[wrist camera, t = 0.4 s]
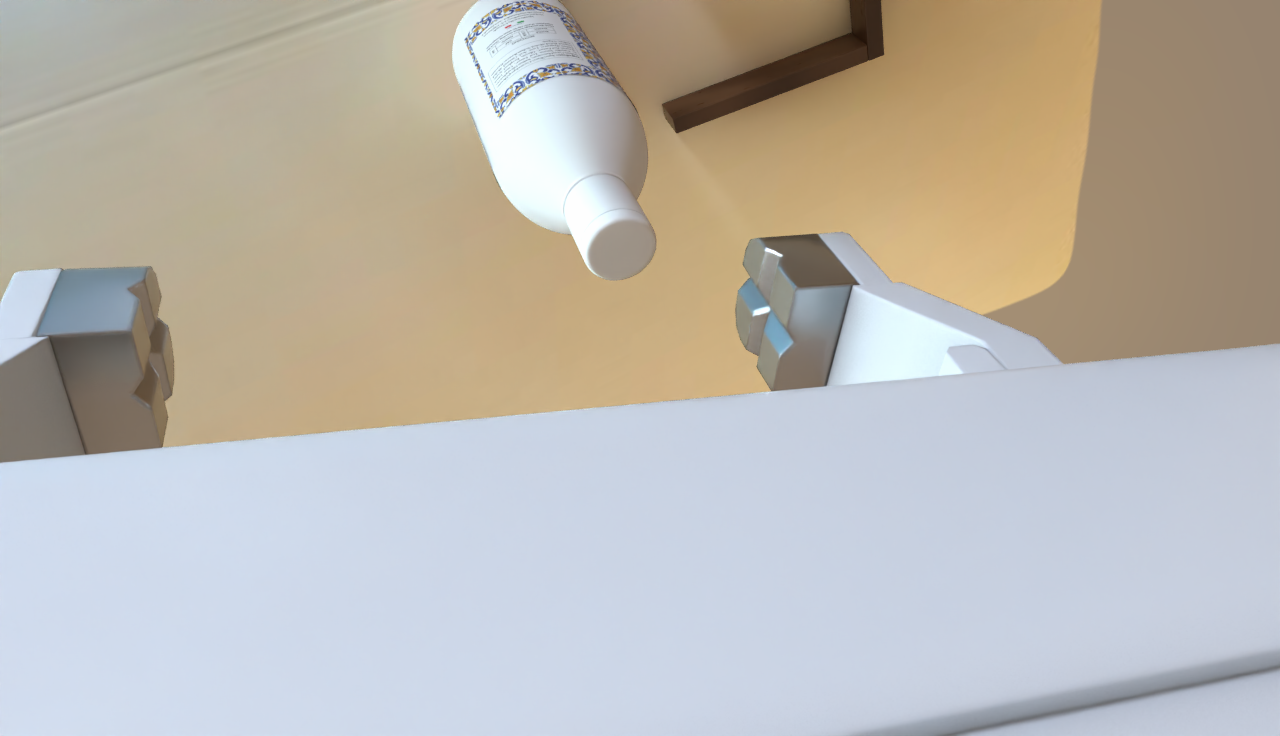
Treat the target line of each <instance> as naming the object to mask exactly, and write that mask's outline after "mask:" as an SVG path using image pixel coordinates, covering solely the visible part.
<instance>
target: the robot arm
mask: <svg viewBox="0 0 1280 736" xmlns="http://www.w3.org/2000/svg"><path fill="white" fill-rule="evenodd" d="M743 266H744V268H745V269H746V271H747V273H748V274H749V276H750V278H749V279H748V280H747V281H746V282H745V283H744V284H743V286H742V287H741V288H740V289H739V290H738V295H737V302H736V309H735V313H736V326H737V330H738V334H739V337H740V340H741V342H742V343H743V345H744V347H745V349H746V350H748V351H750V352H752V353H753V354H755V355H757V356H759V357H758V362H757V369H758V370H759V372H760V373H761V375H762V377H763V378H764V380H765V382H766V383H767V385H768V386H769V388H770V390H771V392H760V393H749V394H738V395H728V396H717V397H706V398H695V399H685V400H674V401H663V402H652V403H642V404H631V405H620V406H609V407H598V408H588V409H577V410H566V411H555V412H544V413H533V414H522V415H511V416H501V417H490V418H479V419H468V420H457V421H446V422H435V423H424V424H414V425H403V426H392V427H381V428H370V429H359V430H348V431H337V432H327V433H316V434H305V435H294V436H283V437H272V438H261V439H250V440H240V441H229V442H218V443H207V444H196V445H185V446H175V447H164V448H162V447H163V442H164V436H165V431H166V426H167V420H168V414H167V410H166V406H165V400H167V399H168V398H169V397H170V396H172V392H173V386H174V356H173V348H172V341H171V337H170V332H169V327H168V325H166V324H165V323H164V322H163V321H162V320H160V319H159V318H158V312H159V307H160V302H161V297H162V296H161V292H160V288H159V284H158V281H157V277H156V274H155V272H154V270H153V268H152V267H151V266H145V267H112V268H79V269H65V270H63V269H62V268H58V269H43V270H29V271H20V272H16V273H15V274H14V275H13V277H12V279H11V281H10V283H9V285H8V287H7V290H6V292H5V294H4V296H3V298H2V300H1V303H0V736H1280V344H1271V345H1263V346H1253V347H1243V348H1235V349H1224V350H1214V351H1203V352H1192V353H1181V354H1170V355H1159V356H1148V357H1137V358H1126V359H1115V360H1104V361H1094V362H1083V363H1072V364H1063V363H1062V362H1061V361H1060V360H1059V359H1058V358H1057V357H1056V356H1055V355H1054V354H1053V353H1052V352H1051V351H1050V350H1049V349H1047V347H1046V346H1045V345H1044V344H1042V343H1041V342H1040V341H1039V340H1038V339H1037V338H1036V337H1033V336H1031V335H1028V334H1026V333H1024V332H1021V331H1019V330H1016V329H1013V328H1011V327H1009V326H1007V325H1004V324H1002V323H999V322H997V321H994V320H992V319H990V318H987V317H985V316H982V315H980V314H977V313H975V312H973V311H970V310H968V309H965V308H963V307H961V306H958V305H956V304H953V303H951V302H948V301H946V300H944V299H941V298H939V297H936V296H934V295H931V294H929V293H927V292H924V291H922V290H919V289H917V288H914V287H912V286H910V285H907V284H905V283H902V282H901V283H893V282H892V281H891V280H890V279H889V278H888V277H887V276H886V274H885V273H884V272H883V271H882V270H881V269H880V268H879V267H878V266H877V264H876V263H875V262H874V261H873V260H872V259H871V258H870V257H869V256H868V254H867V253H866V252H865V251H864V250H863V249H862V248H861V247H860V245H859V244H858V243H857V242H856V241H855V240H854V239H853V238H852V237H851V235H850V234H847V233H844V232H834V233H823V234H806V235H793V236H779V237H765V238H756V239H751V240H750V241H749V243H748V246H747V248H746V250H745V256H744V261H743Z"/></svg>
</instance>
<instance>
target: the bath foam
mask: <svg viewBox="0 0 1280 736" xmlns="http://www.w3.org/2000/svg"><path fill="white" fill-rule="evenodd" d="M452 59H453V66H454V71H455V74H456V77H457V80H458V83H459V85H460V88H461V91H462V94H463V96H464V99H465V102H466V104H467V107H468V109H469V112H470V114H471V117H472V119H473V122H474V125H475V127H476V130H477V132H478V135H479V137H480V140H481V143H482V145H483V148H484V150H485V153H486V155H487V158H488V160H489V163H490V166H491V168H492V171H493V173H494V176H495V178H496V181H497V183H498V185H499V186H500V188H501V189H502V191H503V192H504V194H505V195H506V197H507V198H508V199H509V201H510V202H511V203H512V204H513V205H514V206H515V207H516V208H517V210H518V211H520V212H521V213H522V214H523V215H524V216H525V217H527V218H528V219H529V220H531V221H532V222H534V223H536V224H537V225H539V226H541V227H543V228H545V229H548V230H551V231H554V232H557V233H562V234H568V235H572V236H573V238H574V240H575V242H576V244H577V246H578V249H579V251H580V253H581V255H582V257H583V259H584V261H585V263H586V265H587V267H588V268H589V269H590V270H591V271H592V272H593V273H594V274H595V275H597V276H598V277H600V278H603V279H606V280H623V279H627V278H630V277H632V276H634V275H636V274H638V273H639V272H641V271H642V270H643V269H644V268H645V267H646V266H647V265H648V264H649V263H650V261H651V260H652V258H653V256H654V253H655V250H656V235H655V232H654V230H653V227H652V226H651V224H650V222H649V220H648V219H647V217H646V215H645V214H644V212H643V210H642V209H641V207H640V205H639V204H638V202H637V199H638V197H639V195H640V193H641V190H642V188H643V185H644V182H645V178H646V174H647V167H648V148H647V140H646V136H645V132H644V128H643V125H642V122H641V120H640V117H639V115H638V112H637V110H636V108H635V106H634V105H633V103H632V102H631V100H630V99H629V97H628V96H627V95H626V93H625V92H624V90H623V89H622V87H621V86H620V84H619V83H618V81H617V80H616V78H615V77H614V75H613V74H612V73H611V71H610V70H609V68H608V67H607V65H606V64H605V62H604V61H603V59H602V58H601V56H600V55H599V54H598V52H597V51H596V49H595V48H594V46H593V45H592V43H591V42H590V40H589V39H588V37H587V36H586V35H585V33H584V32H583V30H582V29H581V27H580V26H579V25H578V23H577V22H576V21H575V19H574V18H573V16H572V15H571V13H570V12H569V11H568V10H567V9H566V8H565V7H564V5H562V4H561V3H560V2H559V1H558V0H479V1H478V2H477V3H475V4H474V5H473V6H472V7H471V8H470V9H469V10H468V12H467V13H466V14H465V15H464V17H463V18H462V20H461V22H460V24H459V26H458V28H457V30H456V33H455V37H454V41H453V48H452Z"/></svg>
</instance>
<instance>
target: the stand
mask: <svg viewBox="0 0 1280 736" xmlns="http://www.w3.org/2000/svg"><path fill="white" fill-rule="evenodd" d="M849 2H850V13H851V25H852V33H850V34H847V35H845V36H842V37H839V38H837V39H834V40H831V41H829V42H826V43H823V44H821V45H818V46H815V47H813V48H810V49H807V50H805V51H802V52H800V53H797V54H794V55H792V56H789V57H786V58H784V59H781V60H778V61H776V62H773V63H770V64H768V65H765V66H762V67H760V68H757V69H754V70H752V71H749V72H746V73H744V74H741V75H738V76H736V77H733V78H730V79H728V80H725V81H722V82H720V83H717V84H715V85H712V86H709V87H707V88H704V89H701V90H699V91H696V92H693V93H691V94H688V95H685V96H683V97H680V98H677V99H675V100H672V101H669V102H667V103H664V104H662V106H663V110H664V114H665V118H666V120H667V121H668V123H669V124H670V125H671V127H672V128H673V129H674V131H675V132H676V133H679V132H682V131H684V130H687V129H690V128H692V127H695V126H698V125H700V124H703V123H706V122H708V121H711V120H713V119H716V118H719V117H721V116H724V115H727V114H729V113H732V112H735V111H737V110H740V109H742V108H745V107H748V106H750V105H753V104H756V103H758V102H761V101H764V100H766V99H769V98H772V97H774V96H777V95H779V94H782V93H785V92H787V91H790V90H793V89H795V88H798V87H801V86H803V85H806V84H808V83H811V82H814V81H816V80H819V79H822V78H824V77H827V76H830V75H832V74H835V73H837V72H840V71H843V70H845V69H848V68H851V67H853V66H856V65H859V64H861V63H864V62H867V61H868V60H872V59H875V58H877V57H880V56H883V55H884V46H883V29H882V13H881V0H849Z"/></svg>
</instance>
